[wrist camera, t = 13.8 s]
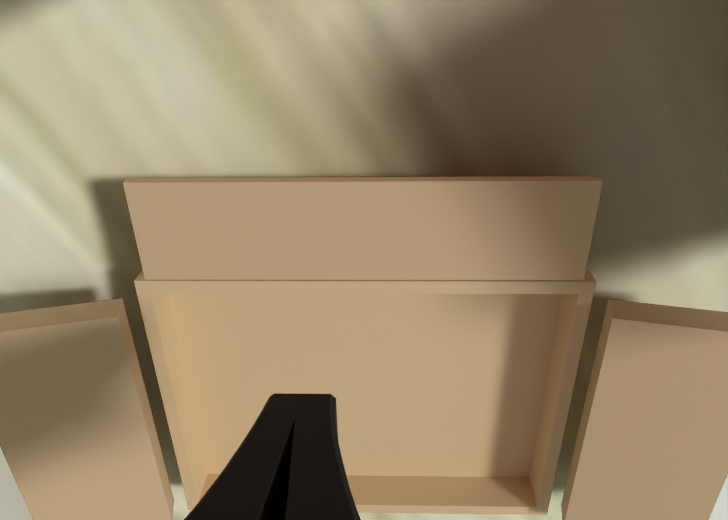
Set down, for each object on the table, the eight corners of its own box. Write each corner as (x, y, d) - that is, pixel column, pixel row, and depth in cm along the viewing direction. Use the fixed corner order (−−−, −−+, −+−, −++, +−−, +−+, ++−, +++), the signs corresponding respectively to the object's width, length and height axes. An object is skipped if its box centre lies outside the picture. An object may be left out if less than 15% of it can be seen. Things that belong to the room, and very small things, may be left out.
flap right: (561, 504, 25) (686, 528, 24) (563, 528, 24) (694, 554, 23) (608, 299, 20) (770, 316, 19) (612, 318, 19) (784, 338, 18)
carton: (536, 478, 27) (549, 522, 25) (199, 474, 27) (183, 517, 25) (596, 155, 19) (623, 180, 17) (130, 157, 20) (100, 182, 18)
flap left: (172, 522, 24) (45, 548, 23) (174, 499, 25) (52, 523, 24) (117, 316, 19) (-48, 338, 18) (122, 298, 20) (-34, 317, 19)
